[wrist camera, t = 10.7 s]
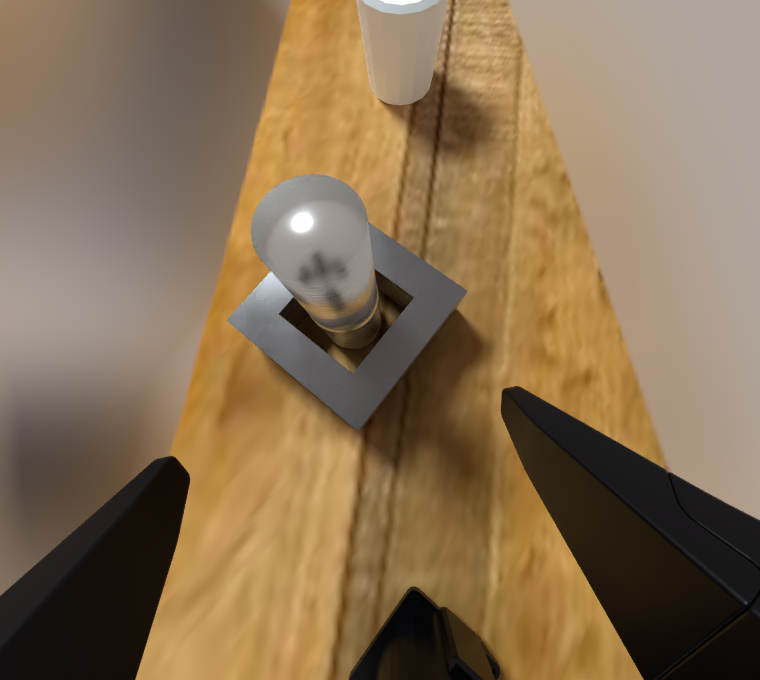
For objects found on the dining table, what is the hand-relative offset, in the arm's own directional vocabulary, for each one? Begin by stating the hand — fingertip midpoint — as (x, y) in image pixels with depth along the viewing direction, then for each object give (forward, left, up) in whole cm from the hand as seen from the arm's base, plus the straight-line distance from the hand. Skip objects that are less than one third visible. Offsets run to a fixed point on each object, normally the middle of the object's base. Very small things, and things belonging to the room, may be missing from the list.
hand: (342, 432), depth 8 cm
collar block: (+5, +6, -14) cm, 15 cm away
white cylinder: (+25, +17, -14) cm, 33 cm away
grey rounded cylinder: (+4, +6, -14) cm, 15 cm away
